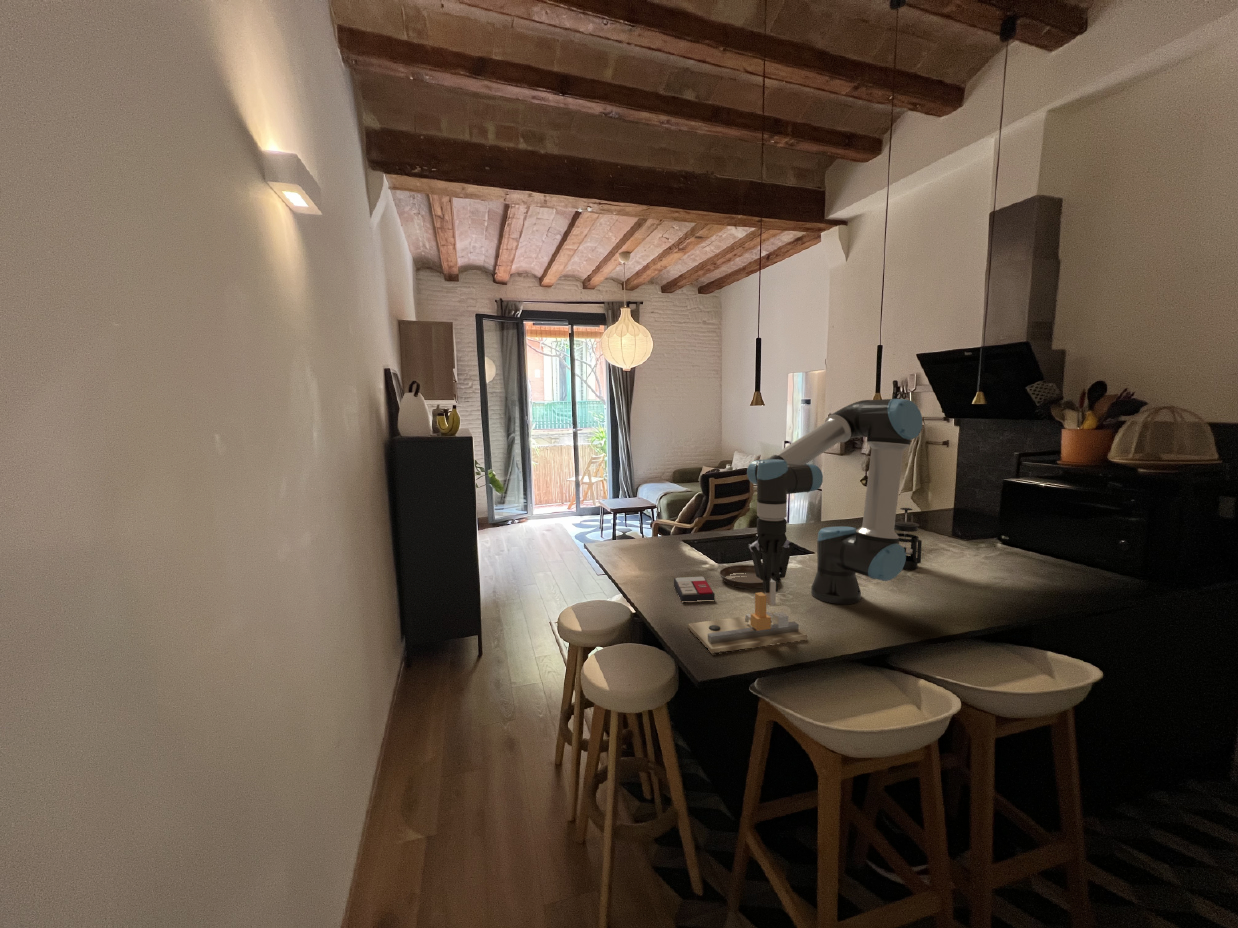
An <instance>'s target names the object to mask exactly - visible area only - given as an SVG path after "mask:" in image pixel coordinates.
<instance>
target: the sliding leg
mask: <svg viewBox="0 0 1238 928" xmlns="http://www.w3.org/2000/svg"><path fill="white" fill-rule="evenodd" d="M754 596H755V597H754V613H746V614H745V615H744V616H745V622H749V620H750V621H751V626H752V627H753V628H755V629H756V630H757V631H759V630H766V629H771V617H770V616H768V615H767V614H766V612H767V603H766V597H767V595H765V592H763V591H760V592H755V594H754Z"/></svg>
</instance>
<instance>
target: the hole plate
mask: <svg viewBox="0 0 1238 928" xmlns="http://www.w3.org/2000/svg"><path fill="white" fill-rule="evenodd" d="M770 613H771V614H772V615H773V613H777V612H776V611H774V612H770ZM745 616H746V615H744V616H737V617H729V618H721V619H715V620H707V621H706V620H705V621H699V622H692V623H688V624H687V628H688V627H689V628H690V630H691V631H692V632H693V633H694V634H695V635H696V636H697V637H698V639H700V641H701V642H702V643H703V644H704V645H705V647H707V648H708V650H709V651H710V652H711V653H714V652H720V651H731V650H738V649H744V648H749V647H759V648H761V647H760V646H765V645H770V644H777V643H785V644H788V643H787V642H791V643H794V642H793V641H798V642H801V641H800V640H805V641H807V640H808V634H807V633H805V632H804V631H802V630H801V629H800V628H799V631H798V632H791V633H784V634H777V635H770V636H764V637H757V638H750V639H743V640H736V641H729V642H723V643H716V644H710V643H709V642H708V634H709V633H716V632H723V631H730V630H737V629H744V628H752V626H751V621H750V620H749V622H745ZM771 625H773V624H772V620H771ZM690 630H689V631H690ZM698 639H697V640H698ZM700 641H699V642H700ZM705 647H704V648H705ZM765 647H766V646H765ZM708 650H707V651H708ZM709 651H708V652H709Z"/></svg>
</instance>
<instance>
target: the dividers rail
mask: <svg viewBox="0 0 1238 928" xmlns="http://www.w3.org/2000/svg"><path fill="white" fill-rule="evenodd" d="M771 613H772V612H769V611H766V614H767V615H768V616H770V617H771V620H772V624H773V625H771V629H766V630H759V631H757V630H756V629H755V628H753V627H752V628H744V629H737V630H730V631H723V632H716V633H709V634H708V642H709V643H710V644H716V643H723V642H729V641H736V640H743V639H750V638H757V637H764V636H770V635H777V634H784V633H791V632H798V631H799V629H800V628H799V624H798V623H797V622H796V621H789V615H788V614H786V613H784V611H781V612H780V611H779V612H776V613H773V615H772V614H771Z"/></svg>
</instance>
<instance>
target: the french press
mask: <svg viewBox="0 0 1238 928" xmlns="http://www.w3.org/2000/svg"><path fill="white" fill-rule="evenodd" d="M899 510H902V511H904V514H905V517H904V518H905V519H904V521H903V520H902V521H900V520H899V521H896V520H895V525H894V531H895V530H896V531H900V532H901V533H900V532H899V533H896V532H895V533H896V534H897V535H898V536H899V541H898V544H899V545H900V542H901V543H904V544H903V546H902V547H903V548H904V549H905V552H906V561H905V564H904V567H903V569H904V571H914V570H918V569H919V566H918V564H920V563H922V546H923V545H922V542H923V541H922V539H919V536H918V535H915V534H910V532H912V533H913V532H917V531H918V529H919V527H920V524H919V523H918V522H917V523H916V522H914V521H907V515H908V511H913V508H912V507H911V508H910V507H900V509H899ZM902 532H904V533H902ZM907 532H909V533H907ZM903 537H904V538H903ZM906 543H910V547H906ZM903 569H902V570H903Z"/></svg>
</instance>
